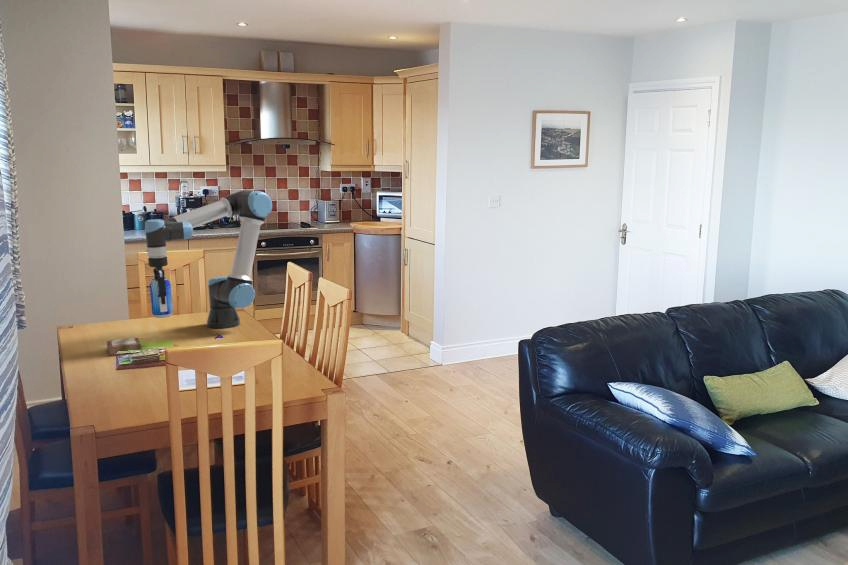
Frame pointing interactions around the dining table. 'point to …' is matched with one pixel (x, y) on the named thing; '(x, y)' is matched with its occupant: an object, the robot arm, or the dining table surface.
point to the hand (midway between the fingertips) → (162, 309)
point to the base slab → (123, 345)
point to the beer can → (155, 299)
